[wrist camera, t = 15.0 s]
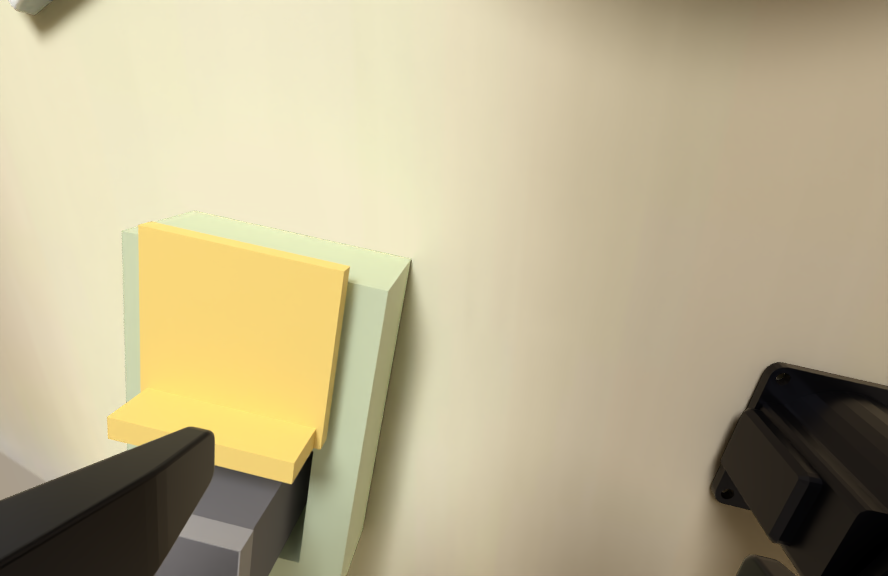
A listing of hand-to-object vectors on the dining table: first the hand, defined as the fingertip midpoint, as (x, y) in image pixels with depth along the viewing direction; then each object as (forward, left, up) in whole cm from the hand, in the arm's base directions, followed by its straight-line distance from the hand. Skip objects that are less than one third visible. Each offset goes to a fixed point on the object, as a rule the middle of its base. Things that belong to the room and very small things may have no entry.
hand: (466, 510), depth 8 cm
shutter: (+8, +2, -8) cm, 11 cm away
